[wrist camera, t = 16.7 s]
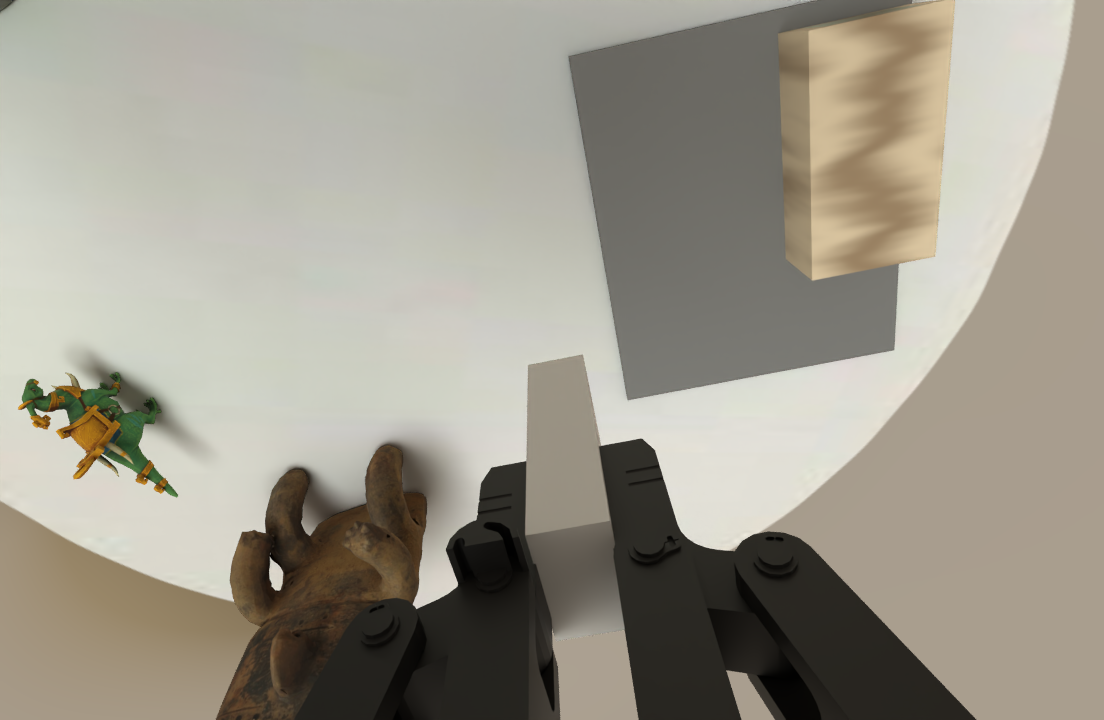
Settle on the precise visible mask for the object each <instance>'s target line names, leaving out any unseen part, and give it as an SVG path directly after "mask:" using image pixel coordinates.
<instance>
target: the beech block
mask: <svg viewBox="0 0 1104 720" xmlns="http://www.w3.org/2000/svg"><path fill="white" fill-rule="evenodd" d="M954 8H955V0H937V1H929V2H922V3H914V4H907V5H903V6H898V7H894V8H889V9H885V10H880V11H876V12H871V13H867V14H862V15H858V16H853V17H849V18H844V19H840V20H836V21H831V22H827V23H822V24H818V25H813V26H809V27H804V28H800V29H795V30H791V31H786V32H782V33H778V47H779V76H780V105H781V135H782V164H783V193H784V222H785V251H786V260H787V261H789V262H790V263H791V264H792V265H794V266H795V267H796V268H797V269H799V270H800V271H801V272H802V273H803V274H805V275H806V276H807V277H808V278H810V279H811V280H812V281H813V280H818V279H823V278H828V277H833V276H839V275H844V274H849V273H854V272H859V271H864V270H869V269H874V268H879V267H884V266H889V265H894V264H899V263H904V262H910V261H915V260H920V259H925V258H930V257H935V252H936V240H937V227H938V214H939V201H940V188H941V175H942V162H943V150H944V137H945V124H946V111H947V98H948V85H949V73H950V60H951V47H952V34H953V21H954Z"/></svg>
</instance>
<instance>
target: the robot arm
mask: <svg viewBox="0 0 1104 720" xmlns="http://www.w3.org/2000/svg"><path fill="white" fill-rule="evenodd" d="M12 1H13V0H0V11H1V10H2V9H3V8H5V7H6V6H7V5H8V4H9V3H11V2H12ZM479 500H480V502H479V505H478V515H477V520H476V521H473V522H471V523H469V524H467V525H466V526H464V527H462V528H461V529H459V530H458V531H457V532H456V533H455V534H454V535H453V537H452V538H451V539H450V541H449V543H448V545H447V548H446V552H447V555H448V557H449V560H450V563H451V565H452V568H453V571H454V573H455V576H456V579H457V581H458V587H456V588H455V589H454V590H453V591H451V592H450V593H449V594H447V595H445V596H444V597H442V598H440V599H438V600H436V601H434V602H431V603H429V604H427V605H425V606H422V607H420V608H418V609H416V608H415V606H413V605H412V604H411V603H410V602H409V601H408V600H404V599H400V598H390V599H383V600H381V601H378V602H376V603H374V604H372V605H369V606H368V607H367V608H365V609H364V610H363V611H361V612H360V613H359V614H357V615H356V616H355V618H354V619H353V620H352V622H351V623H350V624H349V625H348V627H347V628H346V630H345V632H344V633H343V635H342V637H341V639H340V640H339V642H338V644H337V646H336V647H335V649H334V651H333V652H332V654H331V656H330V658H329V659H328V661H327V663H326V665H325V666H324V668H323V670H322V672H321V673H320V675H319V677H318V679H317V680H316V682H315V684H314V685H313V687H312V689H311V691H310V692H309V694H308V696H307V698H306V699H305V701H304V703H303V705H302V706H301V708H300V710H299V712H298V713H297V715H296V717H295V718H294V720H560V704H559V683H558V682H559V681H558V666H557V662H556V658H555V655H554V652H553V648H552V629H553V633H554V636H555V640H556V641H561V640H567V639H573V638H579V637H585V636H591V635H598V634H604V633H609V632H616V631H622V630H625V634H626V641H627V647H628V653H629V660H630V667H631V673H632V679H633V686H634V692H635V699H636V705H637V712H638V718H639V720H741V717H740V714H739V710H738V707H737V704H736V701H735V697H734V695H733V691H732V688H731V685H730V681H729V678H728V675H727V672H726V670H729V671H735V672H742V673H747V675H748V678H749V679H750V681H751V682H752V684H753V685H754V687H755V689H756V690H757V692H758V694H759V695H760V697H761V698H762V700H763V701H764V703H765V704H766V706H767V708H768V709H769V711H770V712H771V714H772V715H773V717H774V719H775V720H976V719H975V718H974V717H973V716H972V715H971V714H970V713H969V712H968V710H967V709H966V708H965V707H964V706H963V705H962V704H961V703H960V702H959V701H958V700H957V699H956V698H955V697H954V696H953V695H952V694H951V693H950V692H949V691H948V690H947V689H946V688H945V686H944V685H943V684H942V683H941V682H940V681H939V680H938V679H937V678H936V677H935V676H934V675H933V674H932V673H931V672H930V671H929V670H928V669H927V668H926V667H925V666H924V665H923V663H922V662H921V661H920V660H919V659H918V658H917V657H916V656H915V655H914V654H913V653H912V652H911V651H910V650H909V649H908V648H907V647H906V646H905V645H904V644H903V643H902V642H901V641H900V640H899V639H898V637H897V636H896V635H895V634H894V633H893V632H892V631H891V630H890V629H889V628H888V627H887V626H886V625H885V624H884V623H883V622H882V621H881V620H880V619H879V618H878V617H877V615H876V614H874V612H873V611H872V610H871V609H870V608H869V607H868V606H867V605H866V604H865V603H864V602H863V601H862V600H861V599H860V598H859V597H858V596H857V595H856V593H855V592H853V590H852V589H851V588H850V587H849V586H848V585H847V584H846V583H845V582H844V581H843V580H842V579H841V578H840V577H839V576H838V575H837V574H836V573H835V572H834V571H833V569H832V568H831V567H830V566H829V565H828V564H827V563H826V562H825V561H824V560H823V559H822V558H821V557H820V556H819V555H818V554H817V553H816V552H815V551H814V550H813V549H812V548H811V547H810V546H809V545H808V544H806V543H805V542H804V541H802V540H801V539H800V538H798V537H795V536H792V535H789V534H786V533H781V532H764V533H759V534H754V535H752V536H750V537H748V538H747V539H745V540H743V541H742V542H741V543H740V545H739V546H738V547H737V549H736V550H735V551H724V550H715V549H710V548H705V547H703V546H700V545H697V544H695V543H694V542H692V541H690V540H689V539H687V538H686V537H685V535H684V534H683V533H682V532H681V531H680V529H679V527H678V525H677V521H676V518H675V515H674V511H673V508H672V505H671V502H670V498H669V495H668V492H667V489H666V485H665V482H664V480H663V475H662V472H661V469H660V466H659V462H658V459H657V456H656V453H655V450H654V449H653V448H652V447H651V446H650V445H648V444H647V443H646V442H645V441H644V440H643V439H636V440H631V441H626V442H620V443H615V444H609V445H604V446H601V443H600V437H599V432H598V428H597V423H596V418H595V413H594V408H593V403H592V398H591V393H590V388H589V383H588V378H587V373H586V368H585V363H584V358H583V355H578V356H573V357H568V358H562V359H557V360H552V361H547V362H542V363H537V364H531V365H528V401H527V459H526V461H525V462H520V463H514V464H509V465H503V466H498V467H492V468H491V469H490V471H489V472H488V474H487V475H486V477H485V478H484V480H483V481H482V483H481V489H480V497H479Z"/></svg>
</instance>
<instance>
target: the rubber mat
mask: <svg viewBox="0 0 1104 720" xmlns="http://www.w3.org/2000/svg"><path fill="white" fill-rule="evenodd" d="M907 4H912V0H817V1H812V2H808V3H803V4H799V5H795V6H790V7H786V8H781V9H777V10H773V11H768V12H764V13H759V14H755V15H750V16H746V17H742V18H737V19H733V20H728V21H724V22H720V23H715V24H711V25H706V26H702V27H697V28H693V29H689V30H684V31H680V32H675V33H671V34H666V35H662V36H658V37H653V38H649V39H644V40H640V41H636V42H631V43H627V44H622V45H618V46H613V47H609V48H605V49H600V50H596V51H591V52H587V53H583V54H578V55H574V56H569V62H570V67H571V73H572V79H573V85H574V91H575V96H576V102H577V108H578V114H579V120H580V126H581V131H582V137H583V143H584V149H585V155H586V161H587V166H588V172H589V178H590V184H591V190H592V196H593V201H594V207H595V213H596V219H597V225H598V231H599V236H600V242H601V248H602V254H603V260H604V265H605V271H606V277H607V283H608V289H609V295H610V300H611V306H612V312H613V318H614V324H615V330H616V335H617V341H618V347H619V353H620V359H621V365H622V370H623V376H624V382H625V388H626V394H627V399H628V400H632V399H637V398H642V397H648V396H653V395H658V394H663V393H669V392H674V391H679V390H685V389H690V388H695V387H701V386H706V385H711V384H717V383H722V382H727V381H733V380H738V379H743V378H748V377H754V376H759V375H764V374H770V373H775V372H780V371H786V370H791V369H796V368H802V367H807V366H812V365H818V364H823V363H828V362H833V361H839V360H844V359H849V358H855V357H860V356H865V355H871V354H876V353H881V352H887V351H892V350H894V345H895V325H896V305H897V286H898V266H899V264H894V265H889V266H884V267H879V268H874V269H869V270H864V271H859V272H854V273H849V274H844V275H839V276H833V277H828V278H823V279H818V280H813V281H812V280H811V279H810V278H808V277H807V276H806V275H805V274H803V273H802V272H801V271H800V270H799V269H797V268H796V267H795V266H794V265H792V264H791V263H790V262H789V261H787V260H786V251H785V222H784V193H783V164H782V135H781V105H780V76H779V47H778V33H782V32H786V31H791V30H795V29H800V28H804V27H809V26H813V25H818V24H822V23H827V22H831V21H836V20H840V19H844V18H849V17H853V16H858V15H862V14H867V13H871V12H876V11H880V10H885V9H889V8H894V7H898V6H903V5H907Z"/></svg>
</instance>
